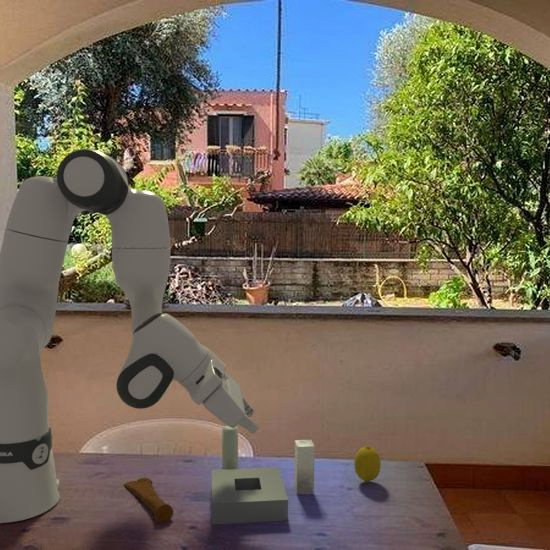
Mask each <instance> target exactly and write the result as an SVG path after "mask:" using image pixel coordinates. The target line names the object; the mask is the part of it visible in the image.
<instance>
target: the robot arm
mask: <svg viewBox="0 0 550 550" xmlns="http://www.w3.org/2000/svg"><path fill="white" fill-rule="evenodd" d="M9 211H10V212H9V214H8V218H7V221H6V226H5V230H4V234H3V239H2V243H1V248H0V524H3V523H4V524H8V523H13V522H15V523H16V522H19V521H25V520H27V519H31V518H34V517H37V516H39V515H42V514H44V513H46V512H47V511H49V510H51V509H52V508H53V507H54V506H56V505H57V504H58V502H59V500H60V496H61V494H60V492H59V488H60V479H58V478H57V474H56V473H57V472H56V466H55V465H56V464H55V459H54V453H53V452H54V451H53V450H52V448H53V433H52V428H51V427H50V422H49V421H50V419H49V418H50V417H49V415H50V414H49V413H50V412H49V410H50V409H49V389H48V387H47V385H46V382H45V377H44V374H43V368H42V362H41V354H42V353H41V352H42V350H43V349H44V348H45V347H46V346H47V345H48V344H49V343H50V341H51V339H52V336H53V333H54V325H55V320H56V313H57V305H58V296H59V295H58V294H59V286H60V280H61V275H62V270H63V265H64V261H65V258H66V253H67V248H68V243H69V239H70V234H71V230H72V228H73V227H72V226H73V223H74V220H75V219H76V218H77V216H78V215H79V214H87V213H88V214H89V213H91V214H92V213H97V214H100V215H103V216H105V217H106V218H107V220H108V221H109V225H110V231H111V261H112V269H113V273H114V278H115V282H116V284H117V286H118V287H119V288H120V289H121V290H122V291H123V293H124V294H125V296H126V298H127V299H128V302H129V305H130V310H131V311H130V312H131V329H132V330H131V331H132V340H131V344H130V348H129V352H128V353H127V356H126V359H125V362H124V364H123V365H122V368H121V369H120V371H119V373H118V376H117V380H116V392H117V395H118V397H119V398H120V400H121V401H122V403H124V404H126V405H127V406H128V407H131V408H134V409H138V410H140V409H141V410H142V409H147V408H151V407H153V406H154V405H156V404H157V403H158V402H159V401H160V400H162V399H163V397H164V395H165V394H166V392H167V390H168V388H169V386H170V385H171V383H173V381H176V382H177V383H178V384H179V385H180V386H182V387H183V388H184V389H185V391H186V392H187V393H188V394H189V396H190V398H191V400H192V402H194V403H195V404H196V405H198V406H201V404H202V405H203V407H204V408H205V409H206V410H207V411H208V412H209V413H210V414H212V415H213V416H215V417H216V418H217V419H218V420H220V422H221V423H223V424H224V425H225V426H229V427H231V428H235V427H236V426H237V427H238V426H240V427H242V428H244V429H245V430H247V431H248V432H249V433H250V434H253V435H254V434H255V433H257V431H258V430H259V426H258V424H257V423H256V422H255V420H253V419H251V417H252V416H253V415H254V414H255V409H254V407H252V406H251V405H250V403H248V401H247V400H246V399H245V397H244V396H243V395H242V389H241V386H240V385H239V383H237V381H236V380H234V379H233V378H232V377H231V376H230V375H229V374H227V372H225V370H226V368H227V364H226V363H224V361H222V360H221V359H220V358H219V357H218V356H217V355H216V354H215V353H214V352H213V351H212V350H211V349H210V348H208V347H207V346H205V345H203V344H202V343H200V342H199V340H198V339H197V337H196V336H195V334H194V333H193V332H191V330H190V329H189V328H187V326H185V325H184V324H183V323H181V322H180V321H179V320H178V319H177V318H175V317H174V316H172V315H171V314H169V313H165V312H163V300H164V294H165V292H166V291H165V290H166V287H167V284H168V278H169V275H170V266H171V233H170V225H169V219H168V212H167V208H166V204H165V201H164V199H163V198H162V196H160V195H159V194H156V193H155V192H153V191H150V190H147V189H146V190H144V189H135V188H132V187H131V183H130V178H129V175H128V173H127V172H126V170H125V169H124V167H123V166H122V165H121V164H120V163H119V162H118V161H117V160H116V159H115V158H113V157H112V156H110V155H108V154H106V153H104V152H102V151H100V150H97V149H94V148H80V149H76V150H73V151H71V152H70V153H69V154H67V155H66V156H65V157H64V158H62V160H61V161H60V163H59V165H58V167H57V172H56V177H50V176H47V175H46V176H44V175H43V176H42V175H40V176H39V175H38V176H31V177H29V178H27V179H25V180H24V181H23V182H22V183H21V185H20V186H19V188H18V191H17V193H16V195H15V198H14V200H13V203H12V205H11V208H10V210H9Z"/></svg>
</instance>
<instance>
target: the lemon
mask: <svg viewBox="0 0 550 550" xmlns="http://www.w3.org/2000/svg"><path fill="white" fill-rule="evenodd" d="M354 457H355V458H354V471H355V473H356V475H357V476H358V478H360V479H361V480H362V481H364V482H365V483H370V482H371V481H374V480H375V479H376V478H377V477H379V475H380V472H381V465H382V464H381V457H380V455H379V453H378V451H376V449H374V448H373V447H371V446H370V445H366V446H363V447H361V448H360V449H358V451H357V452H356V454H355V456H354Z"/></svg>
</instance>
